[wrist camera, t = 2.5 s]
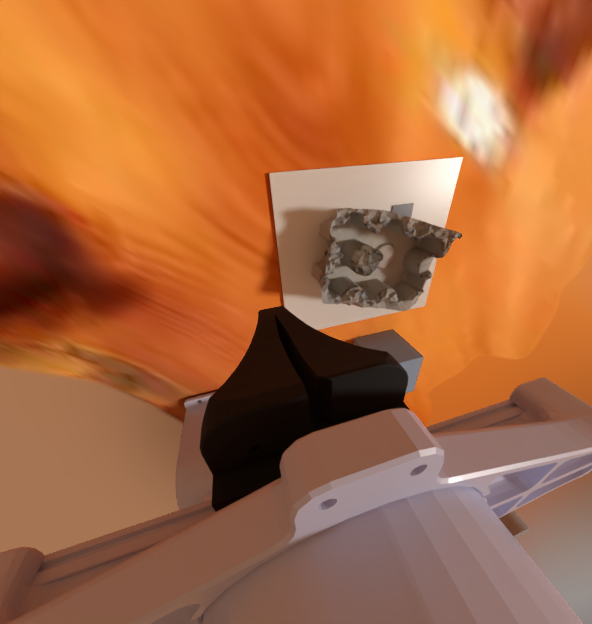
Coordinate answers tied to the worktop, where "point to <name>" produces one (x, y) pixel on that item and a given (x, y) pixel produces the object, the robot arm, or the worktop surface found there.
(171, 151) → the worktop surface
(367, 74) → the worktop surface
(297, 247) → the letter mat
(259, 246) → the worktop surface
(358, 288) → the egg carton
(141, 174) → the worktop surface
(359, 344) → the cube
